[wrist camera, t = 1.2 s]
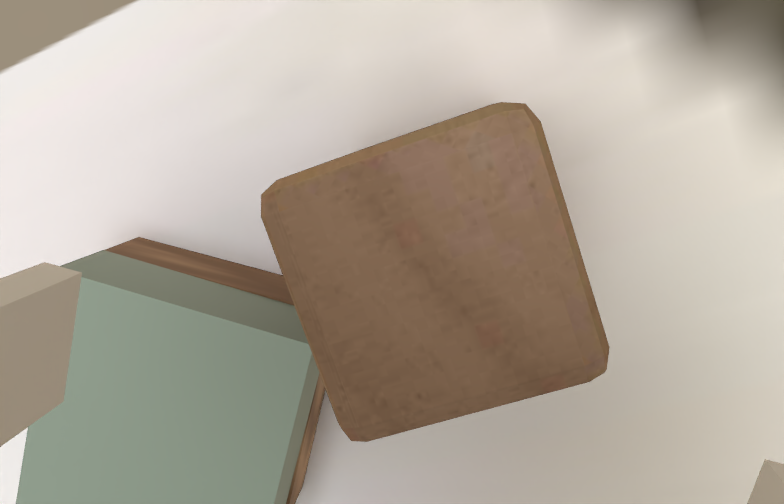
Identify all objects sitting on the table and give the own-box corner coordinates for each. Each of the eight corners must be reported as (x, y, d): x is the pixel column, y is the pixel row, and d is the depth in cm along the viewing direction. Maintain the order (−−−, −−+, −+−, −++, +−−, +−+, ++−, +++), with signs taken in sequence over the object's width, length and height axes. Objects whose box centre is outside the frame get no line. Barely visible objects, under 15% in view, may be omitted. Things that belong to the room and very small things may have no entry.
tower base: (303, 483, 48) (284, 525, 44) (110, 428, 49) (69, 463, 44) (348, 291, 45) (333, 313, 40) (141, 235, 46) (101, 250, 41)
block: (401, 306, 45) (342, 459, 25) (348, 154, 43) (241, 192, 24) (557, 259, 43) (623, 384, 23) (508, 98, 41) (534, 91, 22)
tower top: (279, 528, 44) (254, 581, 39) (66, 461, 44) (15, 504, 40) (333, 317, 40) (313, 345, 36) (103, 250, 41) (53, 268, 37)
